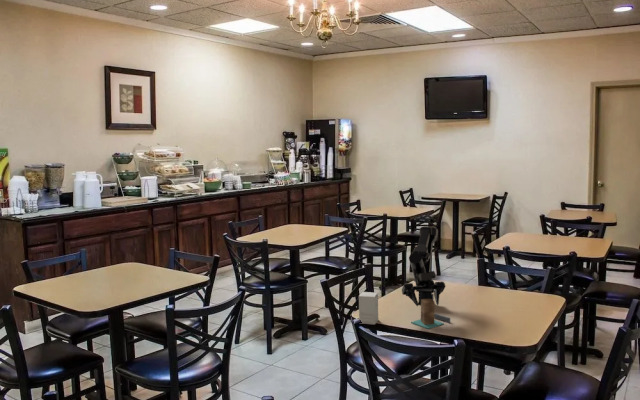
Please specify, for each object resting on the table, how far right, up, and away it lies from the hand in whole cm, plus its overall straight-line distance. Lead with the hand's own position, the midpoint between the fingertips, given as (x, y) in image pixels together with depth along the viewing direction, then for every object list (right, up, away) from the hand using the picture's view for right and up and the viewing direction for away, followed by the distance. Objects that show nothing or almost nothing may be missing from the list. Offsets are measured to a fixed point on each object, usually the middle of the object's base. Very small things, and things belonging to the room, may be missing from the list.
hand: (427, 305), depth 236 cm
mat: (0, -8, +1) cm, 8 cm away
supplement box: (-25, -9, +5) cm, 27 cm away
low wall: (+7, -8, +6) cm, 12 cm away
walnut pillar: (0, -8, +1) cm, 8 cm away
